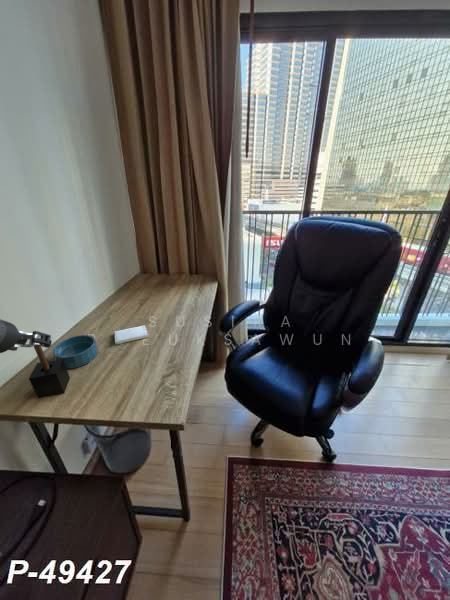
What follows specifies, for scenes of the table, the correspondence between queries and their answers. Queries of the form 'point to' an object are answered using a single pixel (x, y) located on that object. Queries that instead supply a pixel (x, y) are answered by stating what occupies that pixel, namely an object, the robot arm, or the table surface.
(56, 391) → the holder
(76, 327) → the table surface
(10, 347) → the robot arm
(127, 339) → the hard drive
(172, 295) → the table surface
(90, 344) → the bowl
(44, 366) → the stick
